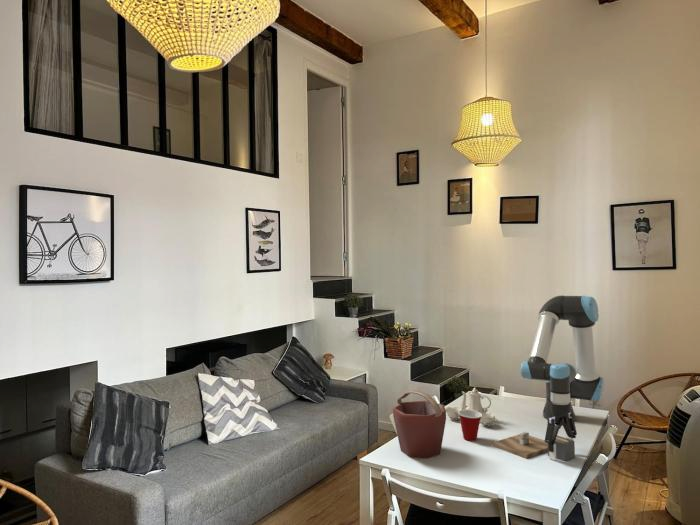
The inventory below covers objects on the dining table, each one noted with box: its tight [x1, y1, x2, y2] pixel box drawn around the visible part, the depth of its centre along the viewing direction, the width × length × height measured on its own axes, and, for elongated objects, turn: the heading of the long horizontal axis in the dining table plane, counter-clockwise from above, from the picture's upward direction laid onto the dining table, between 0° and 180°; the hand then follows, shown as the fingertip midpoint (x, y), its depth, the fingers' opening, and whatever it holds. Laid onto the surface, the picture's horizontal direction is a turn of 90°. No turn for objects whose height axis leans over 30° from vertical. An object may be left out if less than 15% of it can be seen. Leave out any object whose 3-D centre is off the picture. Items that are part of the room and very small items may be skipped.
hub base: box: [491, 431, 548, 459], centre depth 231 cm, size 20×18×6 cm
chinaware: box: [445, 387, 498, 428], centre depth 268 cm, size 28×17×17 cm, turn 56°
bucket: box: [392, 390, 447, 460], centre depth 230 cm, size 24×22×25 cm
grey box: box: [547, 435, 576, 462], centre depth 219 cm, size 8×6×7 cm
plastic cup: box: [458, 410, 482, 442], centre depth 243 cm, size 11×11×12 cm
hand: (561, 456), depth 219 cm, fingers open, 10 cm apart
